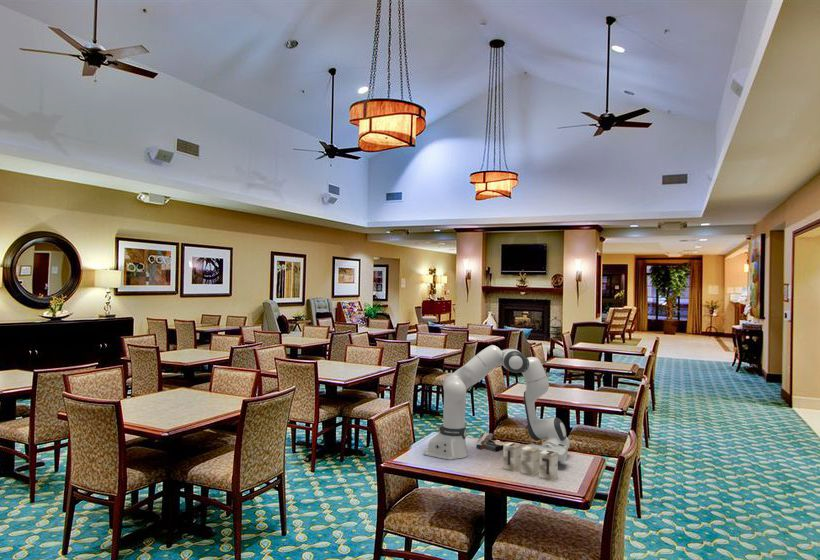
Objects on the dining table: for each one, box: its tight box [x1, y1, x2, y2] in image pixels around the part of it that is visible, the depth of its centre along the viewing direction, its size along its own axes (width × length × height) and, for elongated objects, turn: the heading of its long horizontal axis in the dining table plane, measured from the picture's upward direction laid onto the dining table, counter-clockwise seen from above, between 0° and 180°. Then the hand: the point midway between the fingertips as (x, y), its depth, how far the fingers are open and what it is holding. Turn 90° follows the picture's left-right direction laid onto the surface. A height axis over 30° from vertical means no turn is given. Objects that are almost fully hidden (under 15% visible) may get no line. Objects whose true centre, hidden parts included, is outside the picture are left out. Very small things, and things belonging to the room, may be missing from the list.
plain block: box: [520, 446, 539, 477], centre depth 235 cm, size 6×6×11 cm
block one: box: [502, 441, 522, 472], centre depth 241 cm, size 6×6×11 cm
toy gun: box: [476, 432, 504, 453], centre depth 281 cm, size 3×29×15 cm
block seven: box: [538, 450, 559, 482], centre depth 229 cm, size 6×6×11 cm
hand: (537, 456), depth 241 cm, fingers closed
